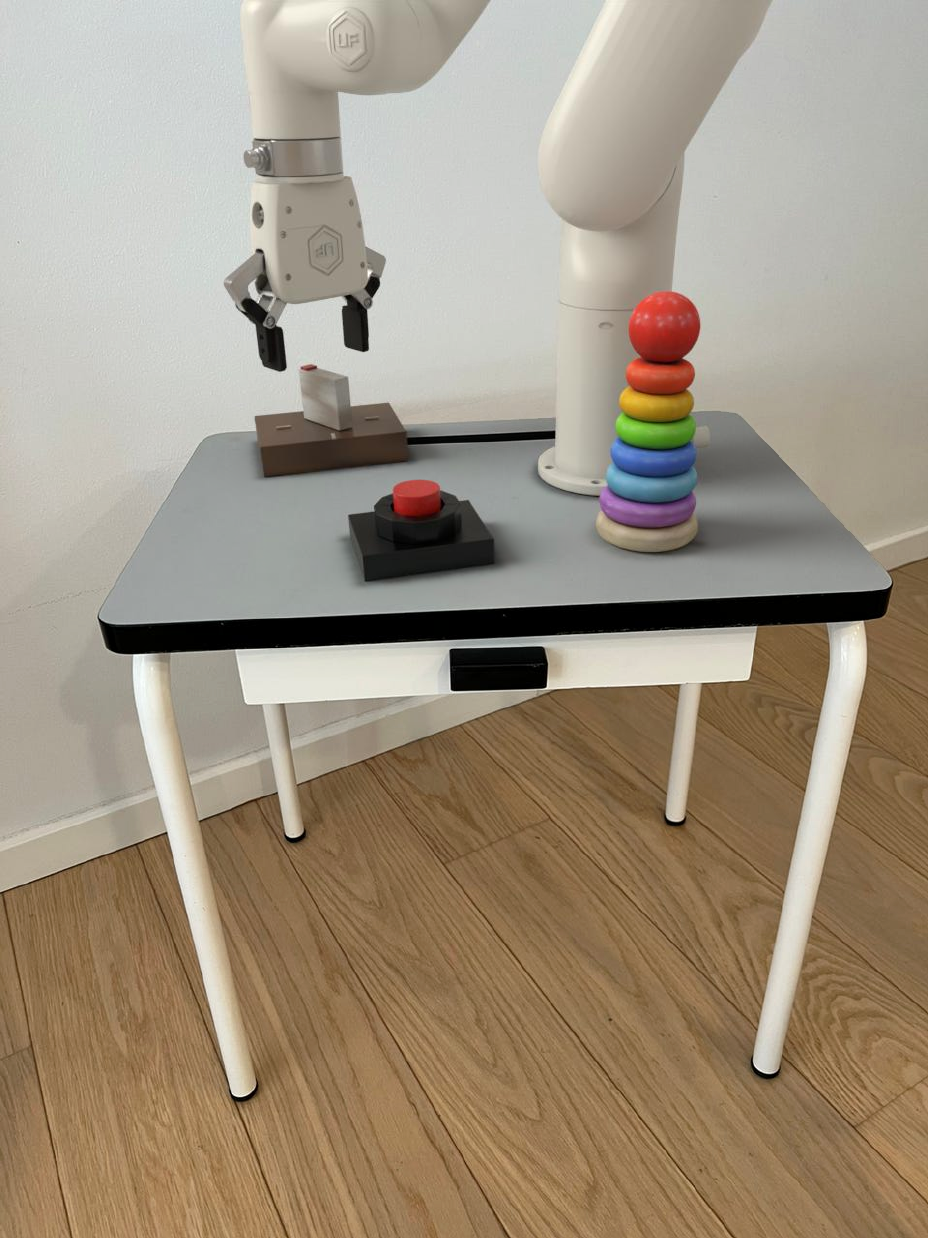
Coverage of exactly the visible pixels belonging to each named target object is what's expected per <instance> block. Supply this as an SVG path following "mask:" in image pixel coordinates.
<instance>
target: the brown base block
mask: <svg viewBox="0 0 928 1238" xmlns="http://www.w3.org/2000/svg"><path fill="white" fill-rule="evenodd" d="M351 415H352V425H353V427H351V428H348V429H344V430H341V431H339V430H336V429H333V428H331V427H328V426H325V425H322V424H319V423H316V422H313V421H311V420H308V419H305V418H304V412H303V410H300V411H291V412H281V413H280V412H279V413H271V414H261V415H254V423H255V430H256V439H257V444H258V450H259V456H260V463H261V468H262V474H263V477H264V478H267V477H275V476H285V475H286V476H287V475H292V474H303V473H304V474H305V473H312V472H320V471H329V470H338V469H346V468H348V469H349V468H357V467H364V466H365V467H366V466H374V465H382V464H383V465H384V464H392V463H401V462H409V447H408V446H409V445H408V433H407V430H406V428H405V427H404V424H402V422H401V420H400V419H399V417H398V415H397V413H396V412H395V410H394V408H393V407H392V405H391V404H390V402H380V403H371V404H361V405H351Z"/></svg>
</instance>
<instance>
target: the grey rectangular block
mask: <svg viewBox="0 0 928 1238" xmlns="http://www.w3.org/2000/svg"><path fill="white" fill-rule="evenodd" d="M298 376H299V385H300V393H301V395H300V396H301V402H302V411H303V412H304V418H305V419H308V420H311V421H313V422H316V423H319V424H322V425H325V426H328V427H331V428H333V429H336V430H339V431H341V430H344V429H348V428H351V427H353V425H352V415H351V406H352V404H351V394H350V382H349V376H347V375H344V374H339V373H336V372H334V371H329V370H326V369H323V368H319V367H318V365H316V364H313V363H310V364H306V365H302V366H301V365H300V368H299V369H298Z"/></svg>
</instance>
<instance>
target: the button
mask: <svg viewBox="0 0 928 1238" xmlns="http://www.w3.org/2000/svg"><path fill="white" fill-rule="evenodd" d="M440 490H441V486H440V484H439V483H437V482H435V481H433V480H429V479H410V480H409V479H408V480H405V481H402V482H399V483H397V484H395V485H394V486H393V489H392V493H393V500H394V511H395V512H396V513H398V514H401V515H409V516H421V515H429V514H432V513H435V512H437V511H440V509H441V498H440Z"/></svg>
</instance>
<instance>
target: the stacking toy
mask: <svg viewBox="0 0 928 1238" xmlns="http://www.w3.org/2000/svg"><path fill="white" fill-rule="evenodd" d="M700 332H701V318H700V314H699V311H698V309H697V307H696V305H695V304H694V302H693V301H692V300H691V299H689V297H687V296H685V295H683V294H682V293H679V292H676V291H673V290H672V291H662V292H656V293H654V294H651V295H649V296H647V297H646V298H644V299H643V300H642V301H641V302H640V303H639V304H638V305H637V306H636V308H635V309H634V311H633V313H632V315H631V318H630V322H629V337H630V341H631V344H632V346H633V348H634V349H635V351H636V352H637V353H638V354H639V355H640V356H641V357H640V358H637V359H635V360H633V361H632V362H631V363H630V364H629V365H628V367H627V369H626V380H627V382H628V384H629V385H630V386H629V387H627V388H626V389H625V390H624V391H623V392H622V393H621V395H620V398H619V405H620V408H621V410H622V411H623V413H622V414H620V416H619V417H618V418H617V421H616V433H617V435H618V438H617V439H616V440H615V441H614V442H613V444H612V446H611V451H610V453H611V458H612V461H613V463H612V464H611V465H610V466H609V468H608V470H607V473H606V481H607V484H608V485H606V486H605V487H604V489H603V490H602V491H601V494H600V496H598V497H599V498H598V503H599V506H600V511H599V512H598V514H597V516H596V520H595V527H596V530H597V532H598V534H599V536H601V538H602V539H604V540H605V541H606V542H608V543H609V544H612V545H613V546H615V547H618V548H622V549H624V550H628V551H633V552H639V553H640V552H641V553H660V552H661V553H662V552H668V551H672V550H677V549H680V548H682V547H684V546H686V545H688V544H689V543H690V542H691V541H692V540H693V539H694V538H695V537H696V535H697V534H698V530H699V523H698V519H697V516H696V515H695V513H694V512H695V510H696V506H697V498H696V495H695V492H693V491H694V489H695V488H696V486H697V484H698V472H697V470H696V468H695V466H694V464H695V462H696V460H697V456H698V454H697V448H695V445H694V444H693V443H692V441H691V440H692V438H693V437H694V435H695V431H696V427H697V423H696V420H695V419H694V417H693V416H692V415H691V412H692V411H693V409H694V406H695V399H694V395H693V394H692V392H691V391H690V390H689V387H690V386H692V384H693V382H694V380H695V377H696V370H695V367H694V365H693V364H692V363H691V362H690V361H689V360H687V359H686V358H685V357H686V356H687V355H688V354H689V353H690V352H692V350H693V349H694V347H695V346H696V343H697V342H698V339H699V336H700Z"/></svg>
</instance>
